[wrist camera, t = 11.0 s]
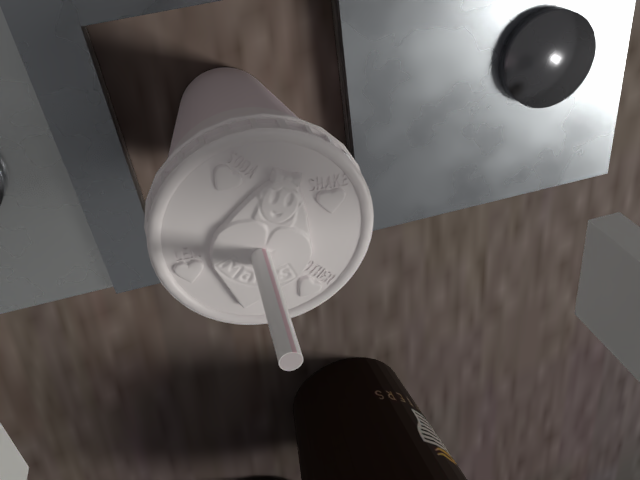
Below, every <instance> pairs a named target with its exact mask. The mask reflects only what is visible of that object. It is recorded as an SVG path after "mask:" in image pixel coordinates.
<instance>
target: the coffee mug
mask: <svg viewBox="0 0 640 480" xmlns="http://www.w3.org/2000/svg"><path fill="white" fill-rule="evenodd" d="M293 413H294V421H295V429H296V438H297V446H298V454H299V463H300V471H301V479H302V480H467V479H466V477H465V476H464V474H463V473H462V471H461V470H460V468H459V467H458V466H457V464H456V463H455V461H454V460H453V458H452V457H451V455H450V454H449V452H448V451H447V449H446V448H445V446H444V445H443V443H442V442H441V440H440V439H439V438H438V436H437V435H436V433H435V432H434V430H433V429H432V427H431V426H430V424H429V423H428V421H427V420H426V418H425V417H424V415H423V414H422V413H421V411H420V410H419V408H418V407H417V405H416V404H415V402H414V401H413V399H412V398H411V396H410V395H409V393H408V392H407V390H406V389H405V387H404V386H403V385H402V383H401V382H400V380H399V379H398V377H397V376H396V374H395V373H394V372H393V370H392V369H391V368H390V367H389V366H387V365H386V364H384V363H383V362H380V361H377V360H375V359H369V358H351V359H344V360H341V361H338V362H335V363H332V364H330V365H328V366H326V367H323V368H322V369H320V370H319V371H317V372H316V373H314V374H313V375H312V376H311V377H310V378H308V379H307V380H306V381H305V382H304V384H303V385H302V386H301V387H300V389H299V391H298V393H297V395H296V397H295V400H294V404H293Z"/></svg>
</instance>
